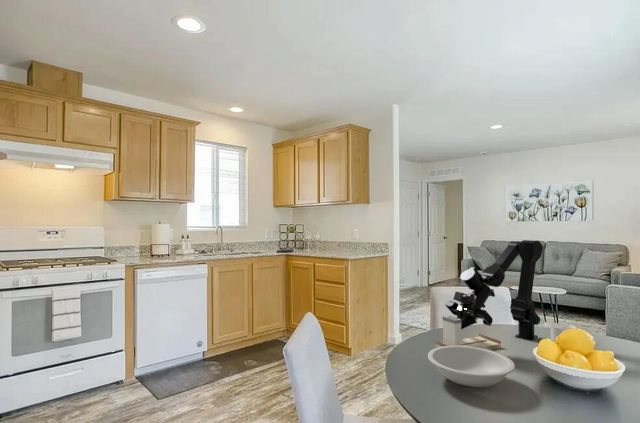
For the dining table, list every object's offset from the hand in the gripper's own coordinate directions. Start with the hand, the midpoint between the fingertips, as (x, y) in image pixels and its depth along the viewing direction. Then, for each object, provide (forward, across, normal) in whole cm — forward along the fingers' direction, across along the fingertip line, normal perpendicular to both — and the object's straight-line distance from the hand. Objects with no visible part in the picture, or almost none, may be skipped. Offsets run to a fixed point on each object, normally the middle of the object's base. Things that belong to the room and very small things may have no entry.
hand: (455, 330), depth 139 cm
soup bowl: (+16, +22, -6) cm, 28 cm away
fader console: (+1, 0, +9) cm, 9 cm away
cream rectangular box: (+5, 0, +2) cm, 6 cm away
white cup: (-17, +19, +27) cm, 37 cm away
